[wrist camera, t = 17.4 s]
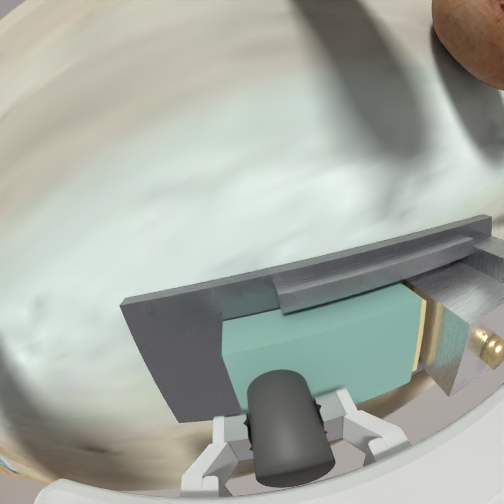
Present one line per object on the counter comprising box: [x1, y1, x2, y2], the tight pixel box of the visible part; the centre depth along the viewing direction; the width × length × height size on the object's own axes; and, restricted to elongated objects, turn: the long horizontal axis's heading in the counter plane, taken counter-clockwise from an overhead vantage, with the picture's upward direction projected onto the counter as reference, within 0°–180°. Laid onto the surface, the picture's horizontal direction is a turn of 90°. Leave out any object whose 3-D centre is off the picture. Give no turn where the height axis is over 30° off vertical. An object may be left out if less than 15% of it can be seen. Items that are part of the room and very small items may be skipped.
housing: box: [405, 261, 504, 397], centre depth 12 cm, size 5×5×7 cm
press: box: [120, 215, 504, 423], centre depth 13 cm, size 10×26×6 cm, turn 102°
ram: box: [222, 281, 426, 488], centre depth 11 cm, size 6×11×8 cm, turn 102°
